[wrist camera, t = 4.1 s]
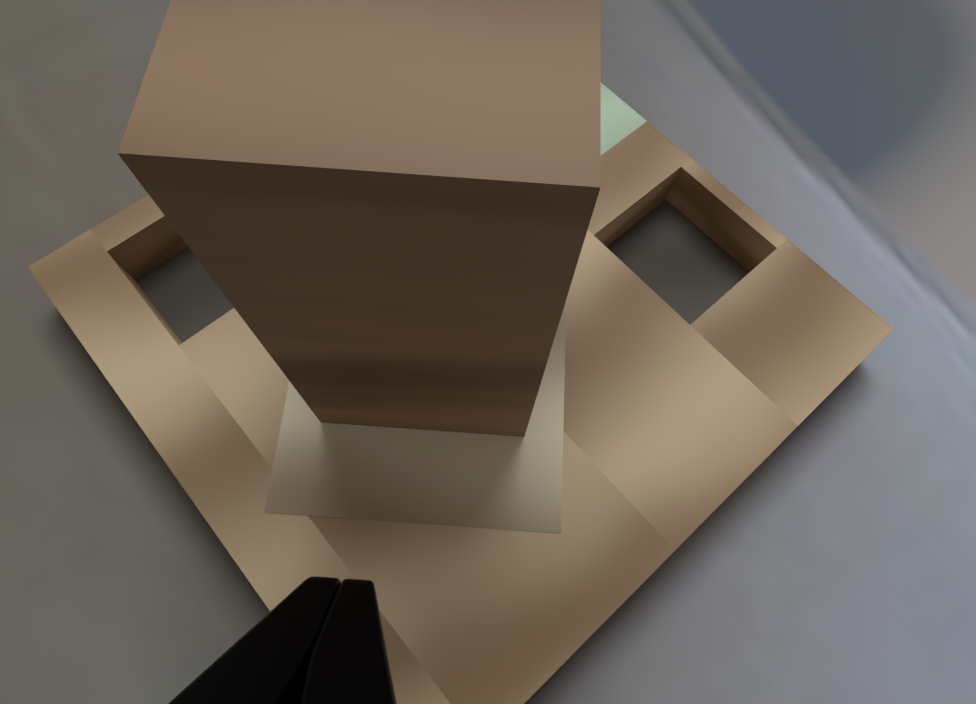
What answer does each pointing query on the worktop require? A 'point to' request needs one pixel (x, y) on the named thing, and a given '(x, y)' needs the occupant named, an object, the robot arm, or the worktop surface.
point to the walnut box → (383, 190)
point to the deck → (483, 457)
